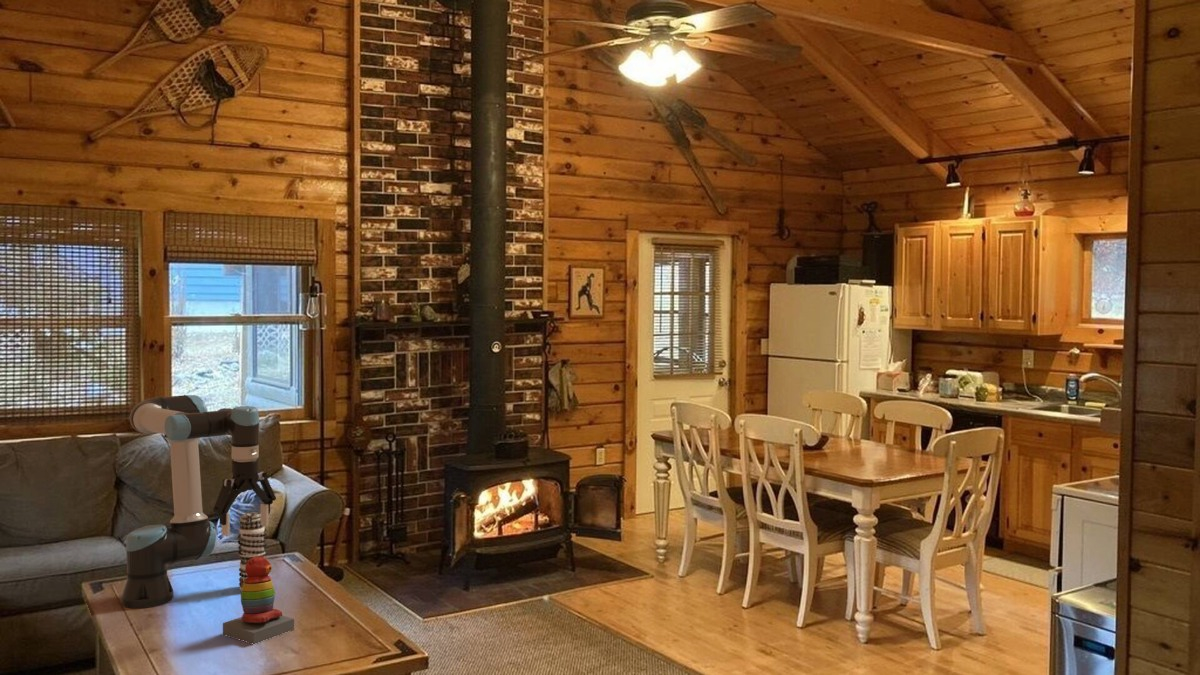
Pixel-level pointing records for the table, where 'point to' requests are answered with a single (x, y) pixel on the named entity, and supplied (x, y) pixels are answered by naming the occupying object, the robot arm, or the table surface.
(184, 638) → the table surface
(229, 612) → the table surface
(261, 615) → the stacking bear
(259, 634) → the gray block
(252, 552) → the decorative candle
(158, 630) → the table surface
